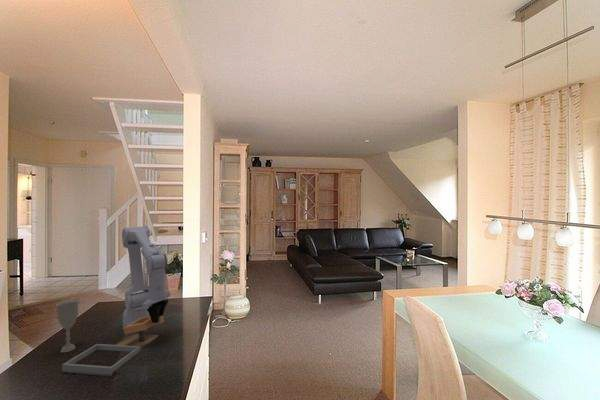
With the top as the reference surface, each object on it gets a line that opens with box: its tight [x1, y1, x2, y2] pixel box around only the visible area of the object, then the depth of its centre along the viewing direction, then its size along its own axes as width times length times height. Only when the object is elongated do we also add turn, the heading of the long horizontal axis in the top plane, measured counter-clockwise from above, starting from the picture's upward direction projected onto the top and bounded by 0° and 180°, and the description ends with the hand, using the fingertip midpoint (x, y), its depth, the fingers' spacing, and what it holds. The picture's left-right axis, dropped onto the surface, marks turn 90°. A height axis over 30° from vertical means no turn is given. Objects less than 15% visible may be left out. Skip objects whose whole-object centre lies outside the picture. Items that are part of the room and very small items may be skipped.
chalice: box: [55, 299, 80, 353], centre depth 106 cm, size 7×7×18 cm
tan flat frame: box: [122, 314, 165, 335], centre depth 112 cm, size 13×9×2 cm
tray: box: [61, 343, 142, 378], centre depth 99 cm, size 18×14×3 cm
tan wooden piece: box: [115, 330, 160, 349], centre depth 112 cm, size 12×10×6 cm
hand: (157, 321), depth 111 cm, fingers closed on tan flat frame, 2 cm apart
